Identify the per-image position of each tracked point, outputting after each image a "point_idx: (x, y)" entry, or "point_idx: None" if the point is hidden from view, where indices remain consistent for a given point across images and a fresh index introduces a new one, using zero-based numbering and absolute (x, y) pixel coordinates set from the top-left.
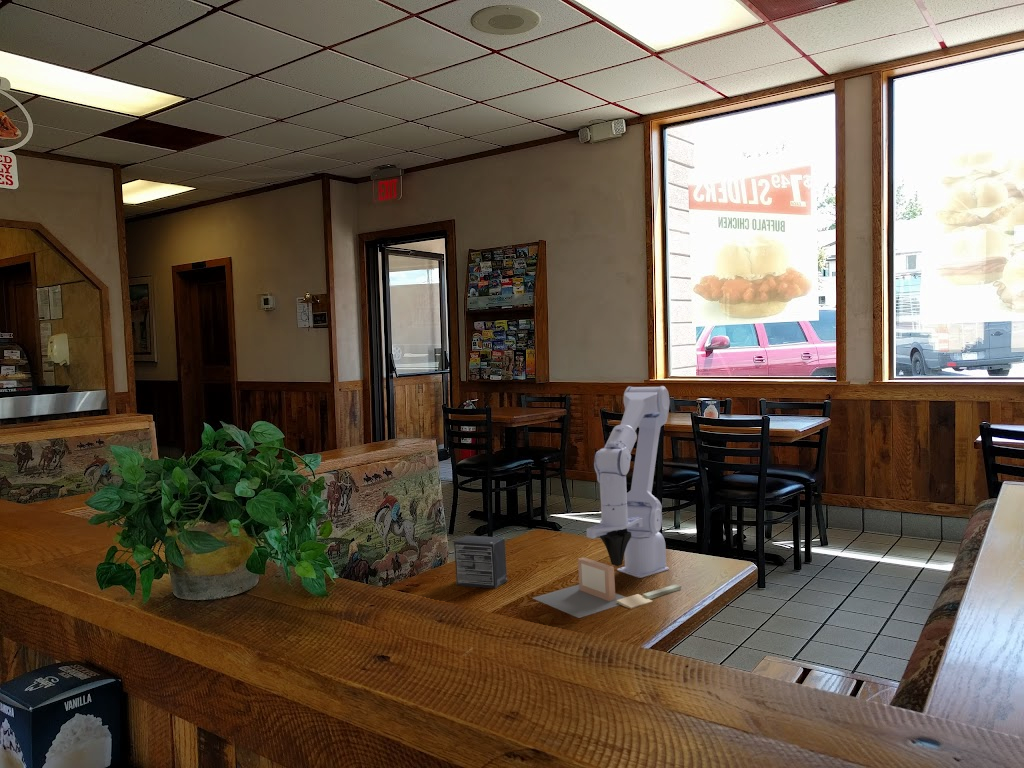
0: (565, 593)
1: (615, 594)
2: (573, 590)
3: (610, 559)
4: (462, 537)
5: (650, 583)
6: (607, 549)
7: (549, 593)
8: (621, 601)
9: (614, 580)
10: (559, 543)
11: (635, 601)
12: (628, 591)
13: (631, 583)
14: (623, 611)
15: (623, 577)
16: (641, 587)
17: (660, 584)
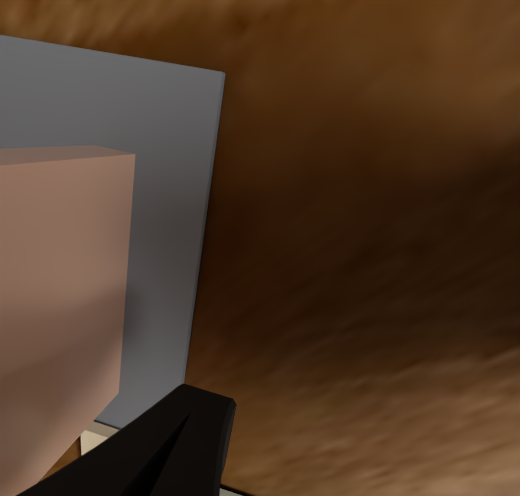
0: (3, 118)
1: (170, 359)
2: (65, 120)
3: (151, 408)
4: None
5: (472, 421)
6: (44, 488)
7: None
8: (89, 448)
9: (46, 471)
10: None
11: None
12: (271, 376)
13: (408, 325)
14: (63, 464)
15: (507, 210)
16: (372, 406)
17: (485, 474)
